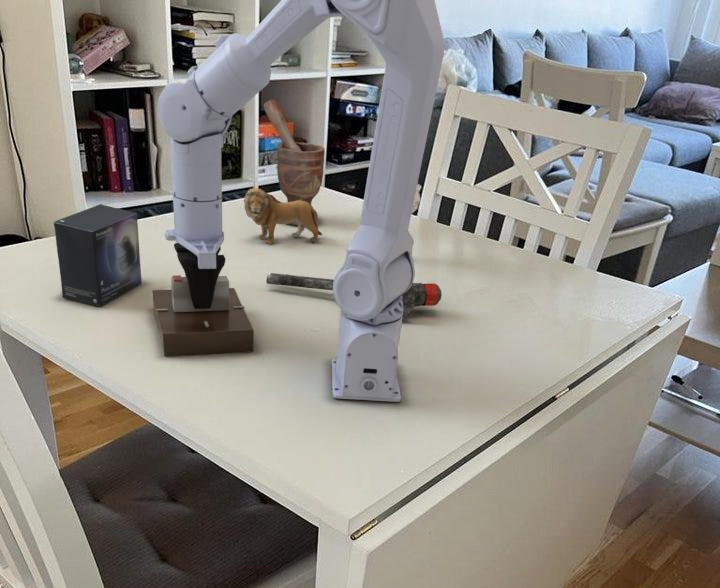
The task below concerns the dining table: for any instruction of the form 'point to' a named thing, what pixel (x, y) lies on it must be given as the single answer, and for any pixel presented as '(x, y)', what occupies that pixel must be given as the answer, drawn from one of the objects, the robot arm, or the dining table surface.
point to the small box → (98, 254)
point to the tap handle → (183, 297)
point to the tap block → (202, 328)
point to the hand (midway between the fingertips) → (200, 303)
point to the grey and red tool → (412, 298)
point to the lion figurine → (279, 214)
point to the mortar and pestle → (295, 161)
